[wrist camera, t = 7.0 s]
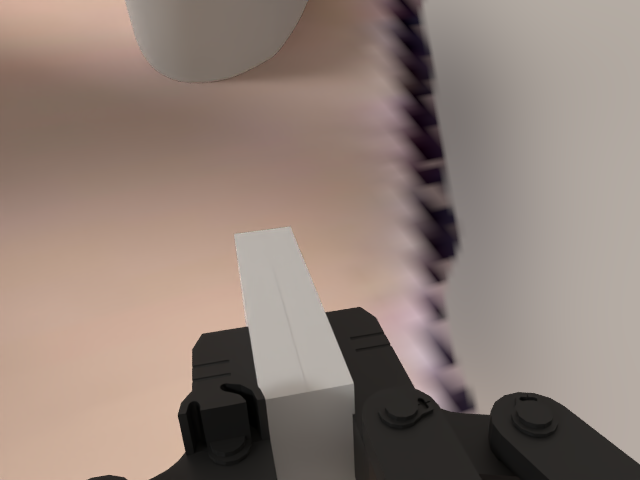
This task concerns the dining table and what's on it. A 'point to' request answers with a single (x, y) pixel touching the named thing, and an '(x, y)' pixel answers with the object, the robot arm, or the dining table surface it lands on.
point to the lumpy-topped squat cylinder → (211, 35)
